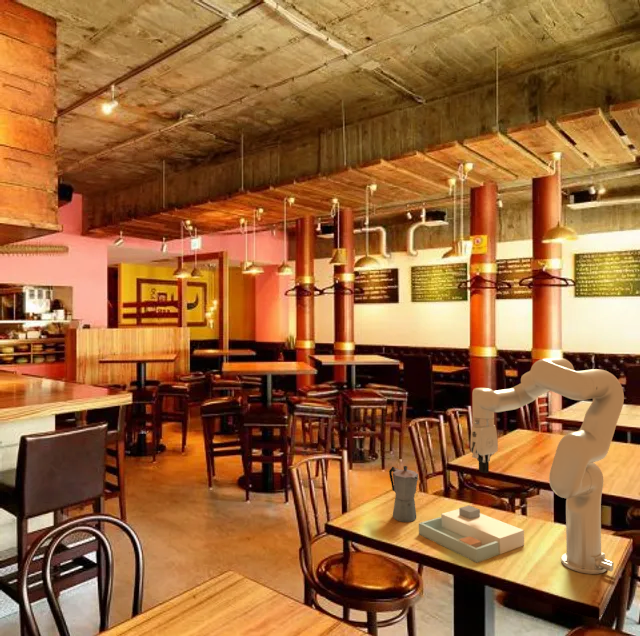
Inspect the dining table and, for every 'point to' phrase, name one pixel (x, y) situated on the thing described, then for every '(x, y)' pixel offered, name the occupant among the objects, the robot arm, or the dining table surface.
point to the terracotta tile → (471, 541)
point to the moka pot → (404, 493)
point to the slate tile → (469, 512)
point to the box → (456, 541)
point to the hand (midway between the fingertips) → (483, 472)
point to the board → (484, 530)
